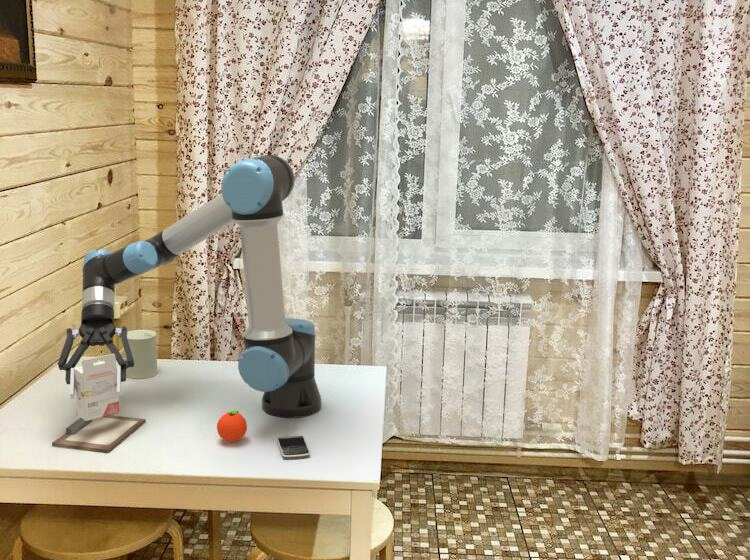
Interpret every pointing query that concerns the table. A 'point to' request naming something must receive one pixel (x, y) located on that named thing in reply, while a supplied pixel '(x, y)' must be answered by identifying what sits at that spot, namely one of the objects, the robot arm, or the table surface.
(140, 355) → the can
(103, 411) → the ink cartridge box
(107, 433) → the clipboard
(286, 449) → the cell phone
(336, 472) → the table surface
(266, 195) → the robot arm
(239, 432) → the clementine
